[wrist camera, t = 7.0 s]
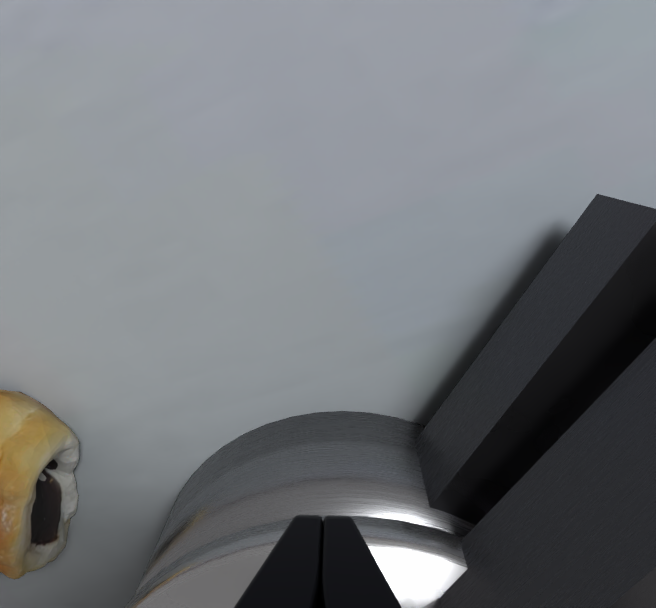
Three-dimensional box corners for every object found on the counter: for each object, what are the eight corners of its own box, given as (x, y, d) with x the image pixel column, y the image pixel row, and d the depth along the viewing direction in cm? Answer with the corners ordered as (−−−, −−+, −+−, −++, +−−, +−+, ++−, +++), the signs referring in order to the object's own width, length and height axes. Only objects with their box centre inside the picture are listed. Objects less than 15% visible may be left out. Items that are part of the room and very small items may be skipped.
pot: (786, 320, 16) (972, 401, 11) (360, 771, 24) (366, 930, 19) (413, 85, 14) (450, 64, 9) (82, 662, 22) (11, 809, 17)
